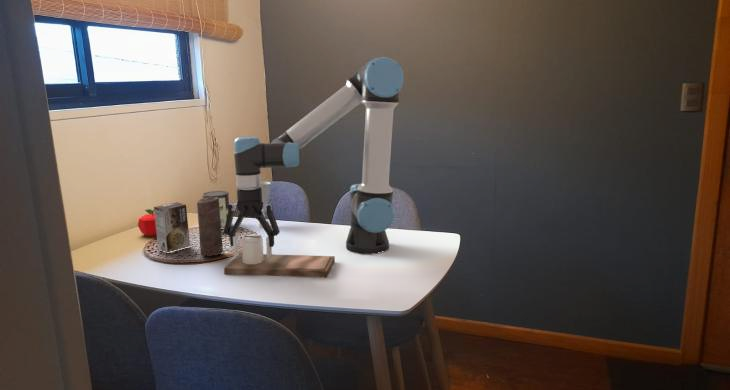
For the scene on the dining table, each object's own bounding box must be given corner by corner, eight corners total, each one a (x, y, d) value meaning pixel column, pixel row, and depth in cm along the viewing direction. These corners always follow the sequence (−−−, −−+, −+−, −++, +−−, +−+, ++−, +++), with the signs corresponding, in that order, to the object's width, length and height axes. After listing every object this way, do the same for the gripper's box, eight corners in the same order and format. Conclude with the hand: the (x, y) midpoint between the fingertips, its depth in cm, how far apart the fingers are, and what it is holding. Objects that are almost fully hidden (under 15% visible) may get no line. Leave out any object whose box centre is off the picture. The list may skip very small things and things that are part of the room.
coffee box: (180, 244, 192) (177, 201, 189) (190, 248, 188) (187, 204, 185) (157, 251, 185) (153, 206, 182) (167, 254, 181) (163, 209, 178)
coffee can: (218, 222, 222) (216, 189, 219) (236, 225, 217) (234, 192, 214) (199, 228, 214) (196, 194, 211) (217, 231, 208) (214, 197, 205)
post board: (334, 262, 172) (334, 237, 170) (326, 277, 159) (326, 250, 157) (240, 259, 176) (238, 235, 174) (224, 274, 162) (222, 248, 160)
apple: (174, 231, 210) (172, 206, 208) (157, 238, 200) (155, 213, 198) (151, 229, 212) (148, 205, 210) (133, 237, 202) (131, 211, 200)
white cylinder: (265, 258, 170) (264, 233, 169) (259, 264, 164) (258, 239, 163) (247, 257, 171) (245, 233, 169) (241, 264, 165) (239, 238, 163)
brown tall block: (216, 259, 176) (212, 201, 171) (196, 258, 177) (191, 200, 173) (227, 252, 183) (223, 196, 179) (207, 251, 184) (203, 195, 180)
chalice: (255, 225, 217) (252, 182, 214) (271, 223, 219) (269, 181, 216) (257, 229, 211) (254, 185, 207) (274, 228, 213) (271, 184, 209)
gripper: (288, 185, 165) (290, 253, 170) (218, 184, 168) (223, 251, 172) (281, 190, 158) (284, 260, 162) (209, 189, 160) (214, 258, 165)
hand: (253, 255), depth 167 cm, fingers open, 10 cm apart
